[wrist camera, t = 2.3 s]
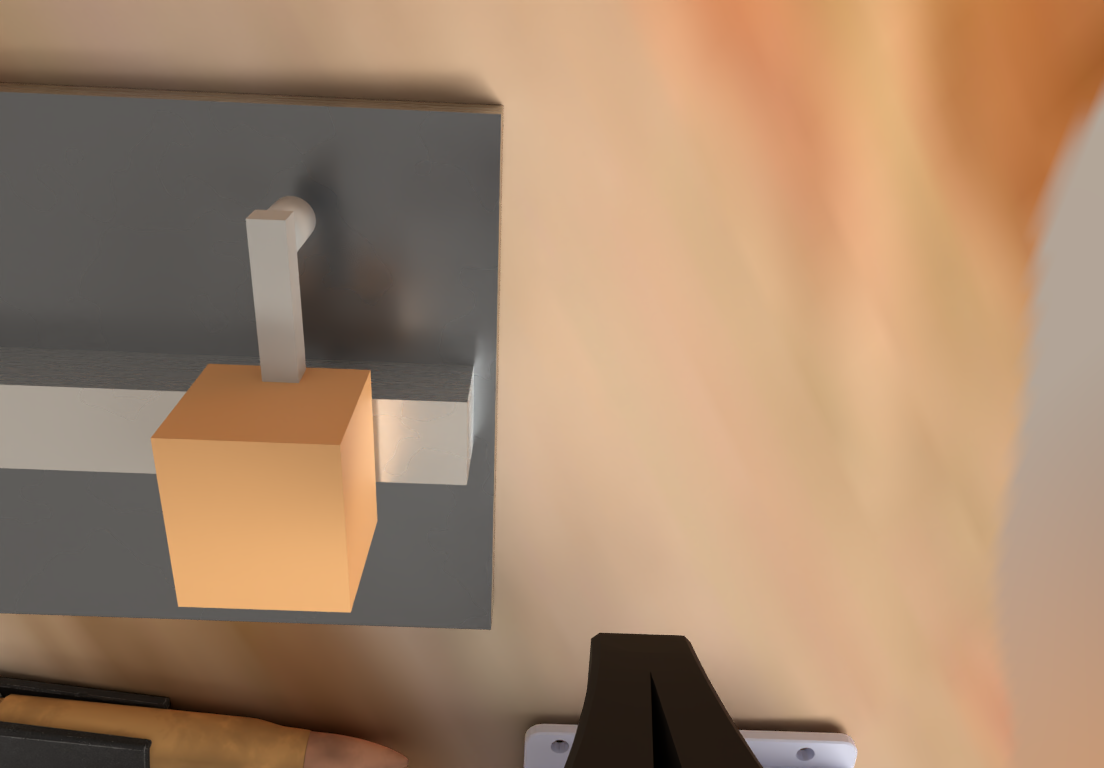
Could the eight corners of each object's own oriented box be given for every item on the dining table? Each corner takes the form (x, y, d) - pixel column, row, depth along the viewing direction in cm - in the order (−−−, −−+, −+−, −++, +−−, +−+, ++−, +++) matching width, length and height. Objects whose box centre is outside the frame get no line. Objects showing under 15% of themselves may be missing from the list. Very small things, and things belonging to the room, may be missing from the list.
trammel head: (373, 197, 18) (328, 265, 15) (385, 493, 21) (350, 612, 18) (207, 189, 18) (120, 257, 15) (242, 487, 21) (178, 606, 17)
